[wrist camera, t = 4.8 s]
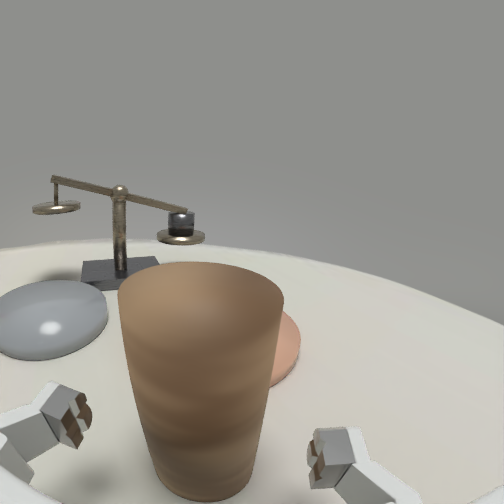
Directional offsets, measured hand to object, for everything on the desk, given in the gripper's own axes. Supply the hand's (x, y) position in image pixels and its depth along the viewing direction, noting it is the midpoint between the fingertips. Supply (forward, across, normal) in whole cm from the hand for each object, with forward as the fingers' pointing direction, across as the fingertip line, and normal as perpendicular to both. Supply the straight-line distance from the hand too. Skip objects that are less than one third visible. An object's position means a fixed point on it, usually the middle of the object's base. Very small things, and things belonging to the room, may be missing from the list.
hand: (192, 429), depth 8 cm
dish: (+12, +17, +6) cm, 21 cm away
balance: (+24, +14, +6) cm, 28 cm away
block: (+2, 0, +6) cm, 6 cm away
